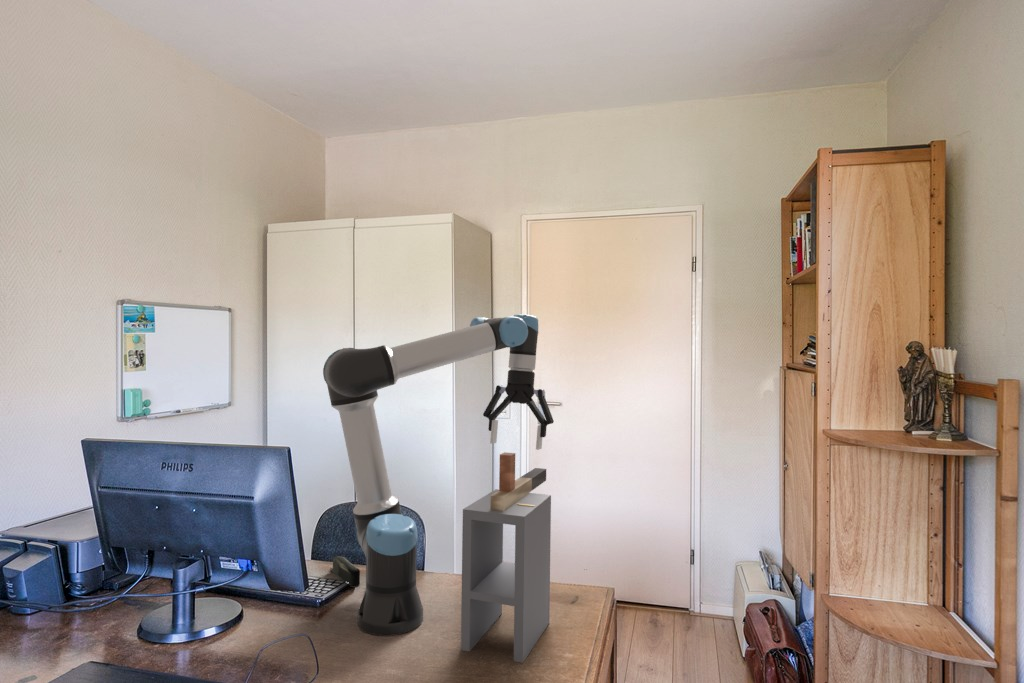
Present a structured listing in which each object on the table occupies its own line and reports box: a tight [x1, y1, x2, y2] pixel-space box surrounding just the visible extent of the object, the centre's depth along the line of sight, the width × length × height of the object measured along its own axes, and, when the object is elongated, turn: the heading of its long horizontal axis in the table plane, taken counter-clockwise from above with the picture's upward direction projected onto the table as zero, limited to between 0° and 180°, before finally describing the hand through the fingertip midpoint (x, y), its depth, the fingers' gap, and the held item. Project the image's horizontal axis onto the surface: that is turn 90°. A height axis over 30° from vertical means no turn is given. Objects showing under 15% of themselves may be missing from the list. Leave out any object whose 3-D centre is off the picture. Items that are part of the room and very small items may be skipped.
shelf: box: [460, 488, 552, 664], centre depth 133 cm, size 14×19×30 cm
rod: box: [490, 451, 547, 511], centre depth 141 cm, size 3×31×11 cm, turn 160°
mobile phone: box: [329, 555, 361, 587], centre depth 164 cm, size 5×3×15 cm
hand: (515, 446), depth 165 cm, fingers open, 13 cm apart
